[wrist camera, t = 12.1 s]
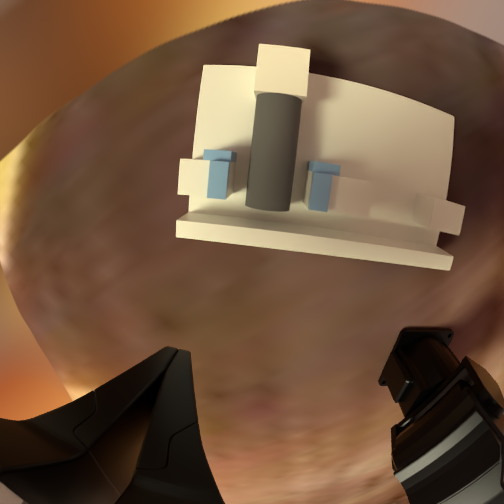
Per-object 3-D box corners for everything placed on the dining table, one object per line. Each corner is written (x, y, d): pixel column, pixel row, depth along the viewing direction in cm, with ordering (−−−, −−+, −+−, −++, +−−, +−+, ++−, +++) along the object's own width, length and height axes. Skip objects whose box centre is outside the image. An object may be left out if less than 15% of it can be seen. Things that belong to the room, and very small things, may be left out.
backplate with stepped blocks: (447, 117, 15) (478, 113, 11) (426, 254, 19) (453, 273, 15) (207, 69, 16) (191, 48, 12) (191, 223, 19) (173, 239, 15)
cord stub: (304, 64, 14) (310, 49, 12) (289, 206, 17) (292, 213, 15) (260, 59, 14) (259, 43, 12) (245, 201, 17) (241, 208, 15)
